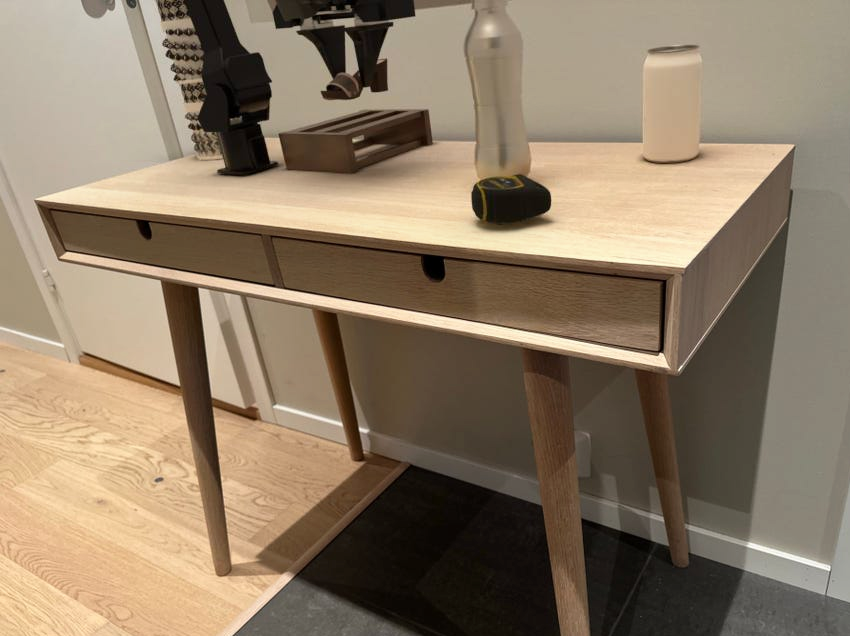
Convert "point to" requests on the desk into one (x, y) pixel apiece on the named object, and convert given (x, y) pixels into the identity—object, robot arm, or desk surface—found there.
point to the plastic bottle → (497, 91)
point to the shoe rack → (333, 138)
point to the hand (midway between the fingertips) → (353, 87)
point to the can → (672, 103)
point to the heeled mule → (356, 84)
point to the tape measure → (509, 199)
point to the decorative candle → (188, 71)
